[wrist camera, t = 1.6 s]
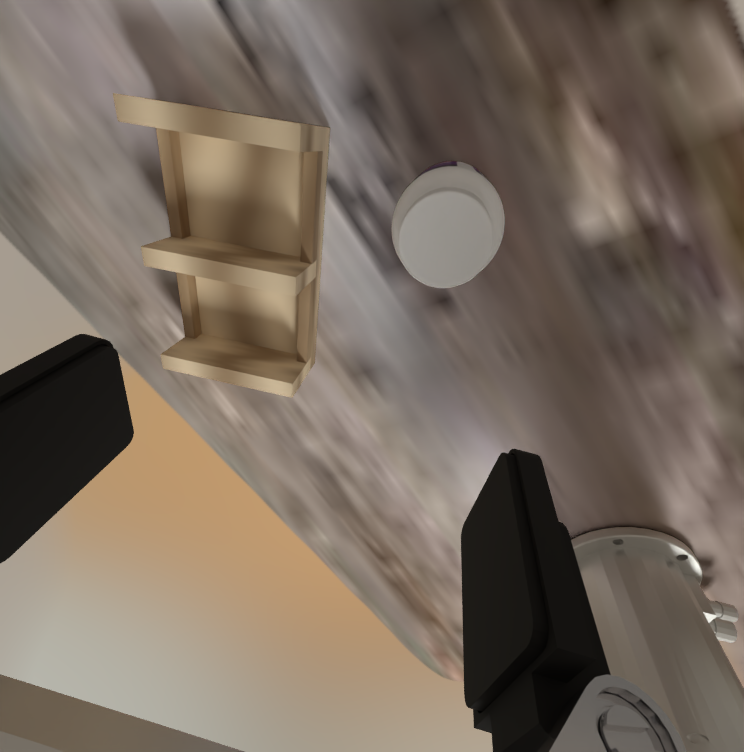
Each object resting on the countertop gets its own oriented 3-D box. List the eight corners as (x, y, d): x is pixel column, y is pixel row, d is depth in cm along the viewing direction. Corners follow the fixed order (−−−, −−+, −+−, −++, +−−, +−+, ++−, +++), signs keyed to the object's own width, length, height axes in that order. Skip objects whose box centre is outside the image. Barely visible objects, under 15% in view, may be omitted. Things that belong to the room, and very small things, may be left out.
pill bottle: (396, 241, 26) (369, 286, 18) (418, 150, 23) (397, 154, 15) (475, 262, 26) (484, 317, 17) (507, 173, 23) (536, 189, 14)
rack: (330, 127, 23) (300, 123, 19) (314, 363, 32) (292, 397, 28) (175, 102, 24) (112, 93, 20) (202, 338, 33) (163, 368, 28)
